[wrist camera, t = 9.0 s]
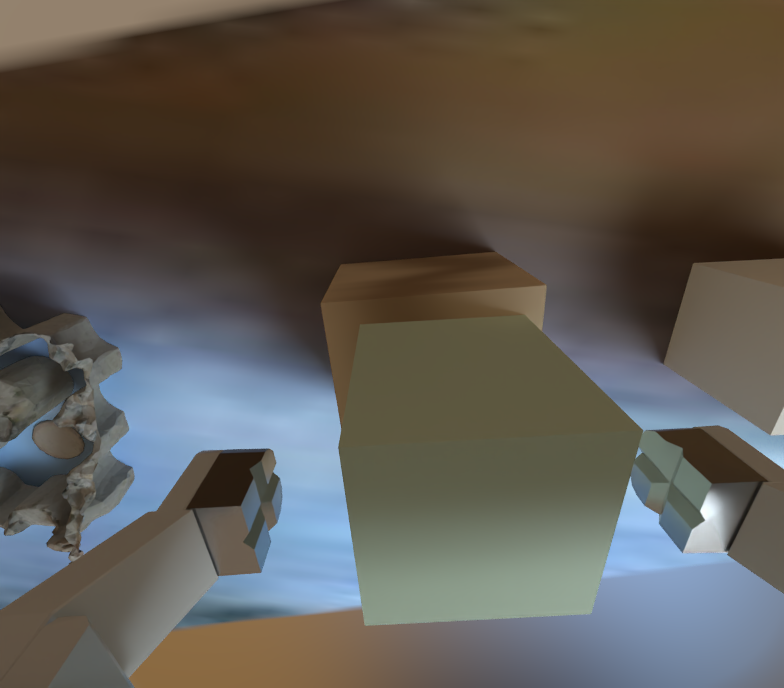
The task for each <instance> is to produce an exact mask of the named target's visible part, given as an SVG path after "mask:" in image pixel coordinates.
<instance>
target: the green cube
mask: <svg viewBox="0 0 784 688" xmlns="http://www.w3.org/2000/svg"><path fill="white" fill-rule="evenodd" d="M642 433H643V430H642V429H641V428H640V427H639V426H638V425H637V424H636V423H635V422H634V421H633V420H632V419H631V418H630V417H629V416H628V415H627V414H626V413H625V412H624V411H623V410H622V409H621V408H620V407H619V406H618V405H617V404H616V403H615V402H614V401H613V400H612V399H611V398H609V397H608V396H607V395H606V394H605V393H604V392H603V391H602V390H601V389H600V388H599V387H598V386H597V385H596V384H595V383H594V382H593V381H592V380H591V379H590V378H589V377H588V376H587V375H586V374H585V373H584V372H583V371H582V370H581V369H580V368H579V367H578V366H577V365H576V364H575V363H574V362H573V361H572V360H571V359H570V358H569V357H568V356H566V355H565V354H564V353H563V352H562V351H561V350H560V349H559V348H558V347H557V346H556V345H555V344H554V343H553V342H552V341H551V340H550V339H549V338H548V337H547V336H546V335H545V334H544V333H543V332H542V331H541V330H540V329H539V328H538V327H537V326H536V325H535V324H534V323H533V322H532V321H531V320H530V319H529V318H528V317H527V316H526V315H511V316H494V317H477V318H460V319H443V320H426V321H409V322H392V323H375V324H360V327H359V333H358V339H357V344H356V350H355V356H354V361H353V367H352V373H351V378H350V384H349V390H348V395H347V401H346V407H345V412H344V418H343V424H342V430H341V435H340V441H339V447H338V448H339V455H340V462H341V469H342V475H343V482H344V489H345V495H346V502H347V509H348V515H349V522H350V529H351V536H352V542H353V549H354V556H355V562H356V569H357V576H358V582H359V589H360V596H361V603H362V609H363V616H364V622H365V626H366V625H386V624H405V623H425V622H443V621H464V620H483V619H501V618H502V619H503V618H521V617H541V616H559V615H560V616H561V615H581V614H591V612H592V609H593V605H594V602H595V598H596V595H597V591H598V588H599V584H600V581H601V577H602V574H603V570H604V567H605V563H606V560H607V556H608V553H609V549H610V546H611V542H612V538H613V535H614V531H615V528H616V524H617V521H618V517H619V514H620V510H621V507H622V503H623V500H624V496H625V493H626V489H627V486H628V482H629V479H630V475H631V472H632V468H633V465H634V461H635V457H636V454H637V450H638V447H639V443H640V440H641V436H642Z"/></svg>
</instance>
